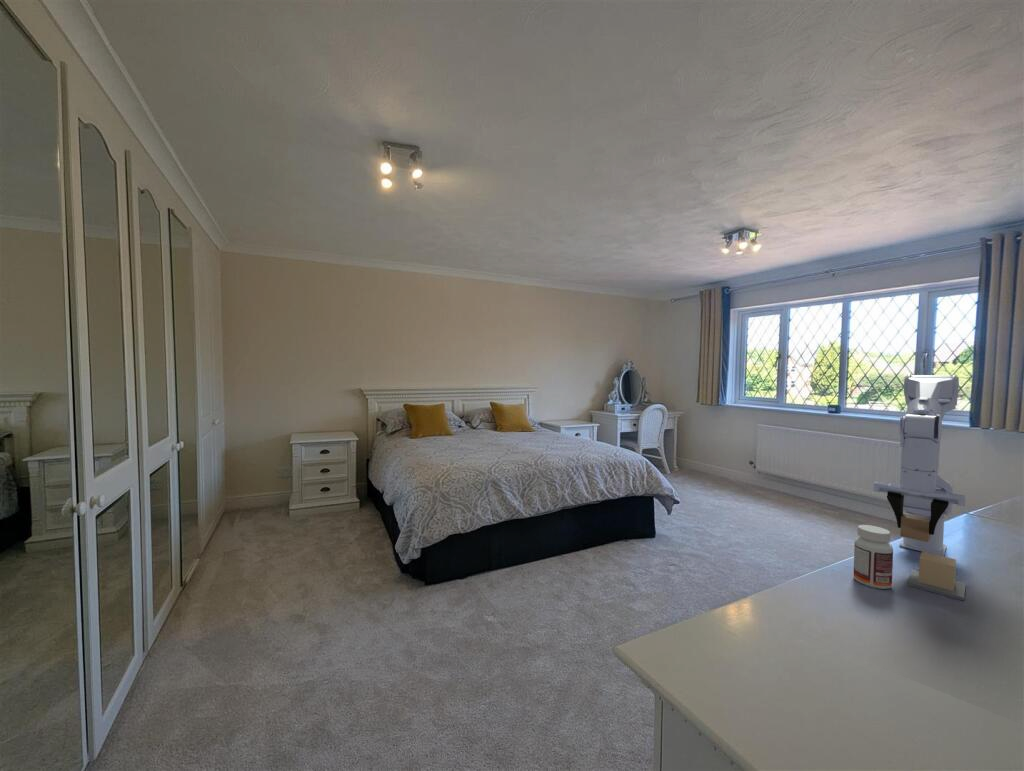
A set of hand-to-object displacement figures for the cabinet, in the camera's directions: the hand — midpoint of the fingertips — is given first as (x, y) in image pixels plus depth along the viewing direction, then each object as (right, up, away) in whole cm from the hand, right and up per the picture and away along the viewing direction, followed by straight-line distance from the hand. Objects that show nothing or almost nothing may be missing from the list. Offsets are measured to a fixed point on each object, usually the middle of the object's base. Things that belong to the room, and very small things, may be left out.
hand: (915, 530), depth 94 cm
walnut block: (0, -2, 0) cm, 2 cm away
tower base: (-1, -9, -6) cm, 11 cm away
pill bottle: (-14, -9, -5) cm, 18 cm away
